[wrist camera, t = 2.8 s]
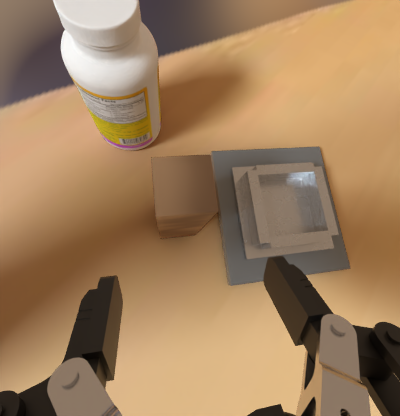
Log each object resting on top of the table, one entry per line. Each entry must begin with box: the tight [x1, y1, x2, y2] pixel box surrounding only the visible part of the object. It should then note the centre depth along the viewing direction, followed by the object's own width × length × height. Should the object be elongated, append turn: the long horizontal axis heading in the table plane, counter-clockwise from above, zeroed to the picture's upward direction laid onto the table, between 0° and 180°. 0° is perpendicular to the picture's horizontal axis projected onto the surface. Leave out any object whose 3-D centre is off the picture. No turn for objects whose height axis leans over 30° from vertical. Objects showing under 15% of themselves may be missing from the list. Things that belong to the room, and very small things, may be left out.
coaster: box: [211, 147, 350, 286], centre depth 25 cm, size 13×14×1 cm
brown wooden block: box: [151, 155, 218, 239], centre depth 18 cm, size 4×4×11 cm
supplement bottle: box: [53, 0, 161, 150], centre depth 19 cm, size 7×7×13 cm
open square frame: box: [231, 162, 339, 259], centre depth 23 cm, size 10×10×3 cm
